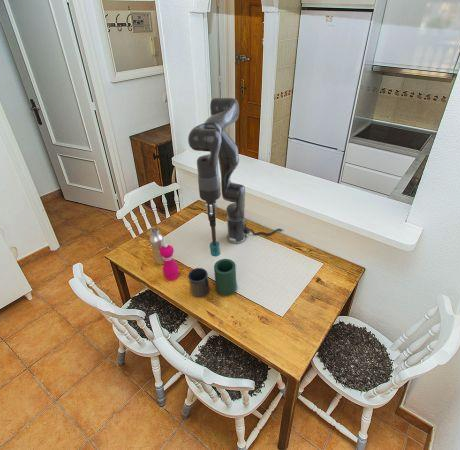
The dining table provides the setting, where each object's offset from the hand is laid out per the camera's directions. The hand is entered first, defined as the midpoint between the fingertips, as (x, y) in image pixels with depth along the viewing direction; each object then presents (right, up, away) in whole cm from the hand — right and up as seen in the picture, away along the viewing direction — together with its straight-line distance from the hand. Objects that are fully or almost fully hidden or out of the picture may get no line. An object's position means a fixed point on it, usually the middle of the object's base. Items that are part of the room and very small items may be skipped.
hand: (212, 224), depth 122 cm
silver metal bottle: (-29, -19, +37) cm, 51 cm away
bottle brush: (0, -12, +9) cm, 15 cm away
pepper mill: (-22, -25, +29) cm, 44 cm away
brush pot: (-8, -30, +22) cm, 38 cm away
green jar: (+4, -29, +23) cm, 37 cm away
